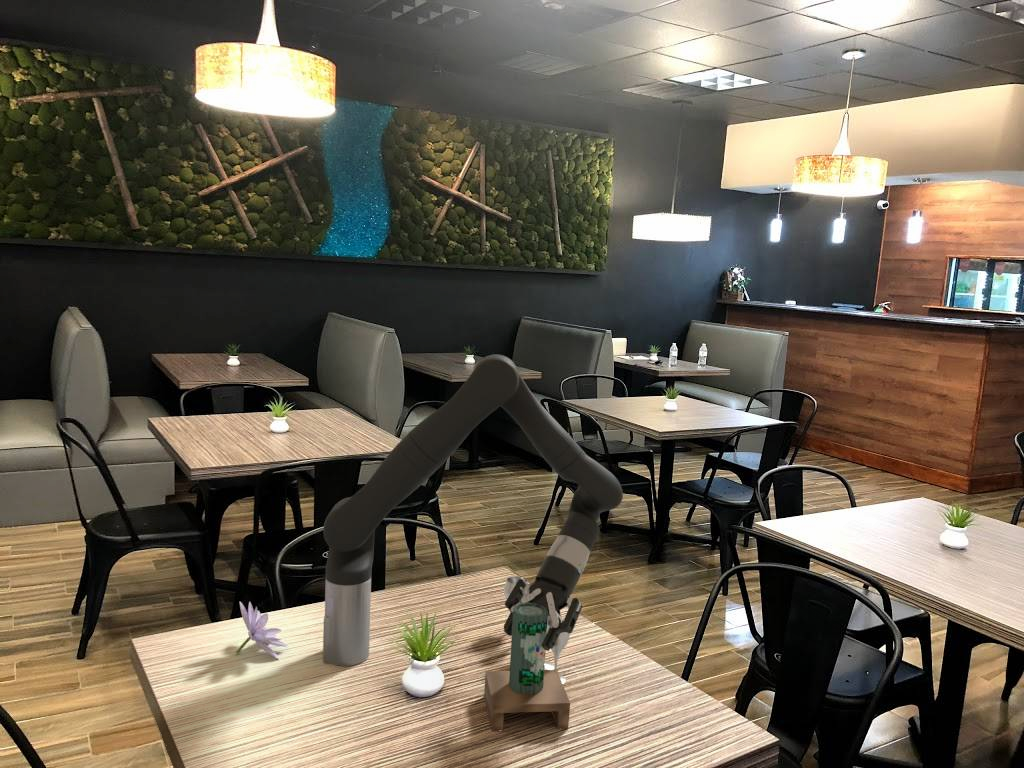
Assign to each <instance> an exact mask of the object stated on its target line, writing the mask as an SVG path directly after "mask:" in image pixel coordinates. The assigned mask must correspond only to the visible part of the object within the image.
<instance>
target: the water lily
mask: <svg viewBox="0 0 1024 768" xmlns="http://www.w3.org/2000/svg"><path fill="white" fill-rule="evenodd" d="M239 608H240V613H241V616H242V620H243V622H244V624H245V626H246V629H247V630H248V633H247V634H248V637H247V638H246V639H245V640H244V641H243V643H241V645H240V646H239V647H238V649H237V650H236V652H235V654H236V653H239V652H241V651H242V650H243V649H244V648H245V646H246V645H247V643H248V642H249V641H250V640H251V641H254V642H255V643H256V644H257V645H258V646H259V647H260V648H261V649H262V650H263V652H265V653H266V654H268V655H269V656H270V657H272V658H275V659H276V660H278V659H277V658H276V657H277V656H278V654H277V653H276V652H275V651H274V650H273V649H272V648H271V647H269V646H268V645H267V644H269V645H272V646H277V647H287V648H288V647H289V646H288V644H286V643H285V642H282V639H280V638H278V637H277V634H279V633H280V632H282V629H281V628H277V627H272V628H267V627H266V626H267V623H268V621H269V613H263V614H261V612H260V610H258V607H257V606H255V609H254V608H253V605H252V603H251V601H249V602H248V608H247V609H246V607H245V606H244V604H243V602H241V601H239ZM265 643H266V644H265ZM239 654H240V653H239Z"/></svg>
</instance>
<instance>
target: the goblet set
mask: <svg viewBox="0 0 1024 768" xmlns="http://www.w3.org/2000/svg"><path fill="white" fill-rule="evenodd" d="M520 579H522V580H523V581H524V582H525V583H527V584H529V585H532V584H533V583H529V582H528V580H527V579H526V578H525V577H523V576H518V575H517V576H509V577H507V579H506V580H505V583H504V586H503V595H504V598H505V599H506V600H507V599H508V597H509V595H510V593H511V592H512V590H513V588H514V587H515V585H516V583H517V582H518V580H520ZM528 595H529V592H527V594H526V595H524V596H523V597H522V599H523V598H525V597H526V596H528ZM563 621H564V619H562V623H563ZM550 627H551V628H552V627H553V626H552V620H551V616H548V618H547V632H548V630H549V628H550ZM570 634H571V633H567V632H562V633H560V635H559V637H558V639H557V641H556V643H555V645H554V647H553V648H552V649H551V648H550V650H551V652H552V654H553V658H554V663H553V662H551V661H549V660H545V666H544V670H557V667H558V666H557V665H558V660H559V656H560V654H561V653H562V651H563V650H564V649H565V648H566V647H567V645H568V642H569V639H570ZM546 635H547V634H546ZM546 653H547V650H545V654H546ZM559 676H560V679H561V681H562V684H563V685H564V684H565V683H566V680H567V679H566V677H565V676H563V675H562V674H559Z"/></svg>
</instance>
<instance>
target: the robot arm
mask: <svg viewBox="0 0 1024 768" xmlns="http://www.w3.org/2000/svg"><path fill="white" fill-rule="evenodd" d="M499 407H501V408H502V409H503V410H504V411H505V412H506V413H507V414H508V415H509V416H510V417H511V418H512V419H513V421H515V423H516V424H517V425H518V426H519V428H520V429H521V430H522V431H523V433H524V434H525V435H526V436H527V437H526V438H528V440H529V441H530V443H531V444H532V445H533V447H534V448H535V449H536V451H537V452H538V453H539V454H540V456H541V457H542V458H543V459H544V461H546V463H547V464H548V465H549V466H550V468H551V469H552V470H553V471H554V472H555V473H556V474H557V475H558V477H560V478H561V479H562V480H564V481H566V482H572V483H575V484H577V489H575V491H574V493H573V496H572V498H571V502H570V504H569V505H570V506H569V509H568V514H567V518H566V520H565V522H564V524H563V526H562V527H561V529H560V531H559V532H558V533H559V534H558V536H557V537H556V538H555V540H554V541H553V543H552V545H551V547H550V548H549V550H548V552H547V554H546V555H545V558H544V560H543V561H542V563H541V565H540V568H539V569H538V571H537V574H536V576H535V580H534V582H532V583H531V584H532V585H529V584H530V583H529V584H527V583H525V582H524V581H523V580H522V579H520V580H518V582H517V583H516V585H515V587H514V588H513V590H512V592H511V593H510V595H509V597H508V599H506V601H505V602H504V605H505V607H506V608H507V609H508V611H509V612H510V613H509V615H508V616H507V618H506V620H505V622H504V624H503V632H504V633H505V634H506V635H507V636H509V637H510V636H511V637H512V621H513V608H514V606H515V605H518V604H520V603H525V602H526V603H535V604H538V605H537V606H536V607H538V608H541V607H540V606H539V605H541V606H543V607H545V608H547V610H548V616H551V620H552V626H553V627H552V628H551V627H550V628H549V630H548V632H547V635H546V637H545V639H544V641H543V643H542V647H543V648H544V650H546V652H549V651H550V650H551V649H552V648H553V647H554V645H555V643H556V641H557V639H558V637H559V635H560V633H562V632H567V633H570V634H571V633H573V631H574V629H575V626H576V625H577V621H578V619H579V617H580V615H581V612H582V609H583V604H582V603H581V601H580V599H578V598H577V597H573V598H570V596H571V595H572V594H573V592H574V591H575V588H576V586H577V584H578V582H579V580H580V578H581V577H582V574H583V572H584V571H585V568H586V565H587V563H588V559H589V557H590V554H591V552H592V550H593V548H594V546H595V544H596V542H597V540H598V537H599V534H600V532H601V531H600V530H601V529H600V526H599V524H598V519H599V517H600V515H601V513H603V512H607V511H612V510H614V509H616V508H618V507H619V506H620V504H621V503H622V502H623V497H624V495H623V494H624V493H623V489H622V485H621V483H620V482H619V480H618V478H617V477H616V476H615V475H614V474H613V473H612V472H611V471H609V470H608V469H607V468H605V467H604V466H603V465H602V464H600V463H599V462H598V461H596V460H595V459H593V458H591V457H590V456H589V455H587V454H586V452H585V451H584V450H583V448H582V447H581V446H580V445H579V444H578V443H577V441H575V440H574V438H573V437H572V436H571V435H570V434H569V433H568V432H567V431H566V429H564V427H562V425H561V424H559V422H558V421H557V420H556V419H555V418H554V417H553V416H552V415H551V414H550V413H549V412H548V411H547V409H545V407H544V406H543V405H542V404H541V402H539V400H538V399H537V398H536V396H535V394H533V392H532V391H531V390H530V388H529V387H528V385H527V384H526V382H525V380H524V379H523V376H522V375H521V374H520V372H519V370H518V367H517V366H516V364H515V363H514V361H513V360H512V359H510V358H509V357H508V356H506V355H503V354H494V353H493V354H489V355H486V356H484V357H483V358H482V359H481V360H479V361H478V362H477V364H476V366H475V368H474V369H473V371H472V373H470V376H468V378H467V379H466V380H465V381H464V383H463V384H462V386H461V387H460V388H459V389H458V390H457V391H456V392H455V393H454V395H453V396H452V397H450V399H449V400H447V402H445V403H444V404H443V405H442V406H441V407H439V408H438V409H436V410H435V411H433V412H432V413H430V414H429V415H428V416H427V417H425V418H424V419H423V420H422V421H420V422H419V423H418V424H417V425H416V426H414V427H413V428H412V429H410V431H409V432H408V433H407V434H406V435H405V436H404V437H403V438H402V439H401V440H400V441H399V442H398V443H397V444H396V445H395V446H394V447H393V449H392V450H391V451H390V452H389V454H388V455H387V456H386V457H385V458H384V460H383V461H382V462H381V464H379V466H378V467H377V469H376V470H375V472H374V473H373V474H372V476H371V477H370V479H369V480H368V481H367V482H366V483H365V484H364V485H363V486H362V487H361V488H360V489H359V490H358V491H357V492H356V493H354V494H353V495H352V496H350V497H345V498H343V499H341V500H339V501H338V502H337V503H336V504H334V506H333V507H332V508H331V510H330V512H328V514H327V516H326V517H325V521H324V525H323V530H322V531H323V538H324V541H325V543H326V544H327V545H328V546H329V547H328V555H327V559H326V560H327V561H326V563H325V585H324V586H325V589H324V590H325V591H324V597H325V598H324V616H323V630H322V631H323V637H322V640H323V641H322V643H323V644H322V663H328V664H332V665H335V666H342V667H346V666H355V665H359V664H361V663H363V662H365V661H366V660H367V659H368V658H369V656H370V634H371V633H370V632H371V631H370V630H371V628H370V627H371V597H372V596H371V595H372V593H371V592H372V570H373V569H372V568H373V562H374V553H375V552H374V551H375V534H376V533H375V532H376V529H377V528H378V526H379V525H380V524H381V522H383V521H384V519H385V518H386V517H387V516H388V515H389V514H390V513H391V512H392V510H394V509H395V508H396V507H397V506H398V505H399V504H400V503H402V502H403V501H404V500H405V499H406V498H408V497H409V496H410V495H411V494H412V493H414V492H415V491H417V489H418V488H419V487H421V485H423V484H424V483H425V482H426V481H427V480H428V479H429V478H431V476H433V475H434V474H435V473H436V471H437V470H438V469H440V468H441V466H443V465H444V464H445V462H447V460H448V459H449V458H450V457H451V456H452V455H453V454H454V453H455V451H457V450H458V448H459V447H460V446H461V445H462V444H463V442H464V441H465V440H466V439H467V437H468V436H469V435H470V434H471V432H472V431H473V430H474V429H475V428H476V427H477V426H478V425H479V424H480V423H482V421H484V419H486V418H487V417H488V416H490V415H491V414H493V412H494V411H496V410H497V409H499ZM527 592H529V595H528V596H526V597H525V598H523V599H522V597H523V596H524V595H526V594H527ZM565 607H567V612H566V614H565V616H564V619H563V618H562V612H561V610H563V609H564V608H565ZM562 620H563V623H562Z"/></svg>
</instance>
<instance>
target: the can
mask: <svg viewBox="0 0 1024 768" xmlns="http://www.w3.org/2000/svg"><path fill="white" fill-rule="evenodd" d="M537 605H538V604H535V603H526V602H525V603H520V604H518V605H515V606H514V608H513V621H512V635H511V640H510V641H511V643H510V656H509V657H510V659H509V660H510V661H509V671H510V675H509V687H510V688H511V690H513V691H515V692H517V693H519V694H520V693H522V694H524V695H525V694H527V695H528V694H530V695H531V694H533V693H534V694H536V693H538V692H540V691H541V690H542V688H543V682H544V666H545V661H546V653H545V650H544V648H543V647H542V643H543V641H544V639H545V637H546V634H547V618H548V610H547V608H545V607H543V606H541V605H539V606H540V607H541V608H538V607H536V606H537Z"/></svg>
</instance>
